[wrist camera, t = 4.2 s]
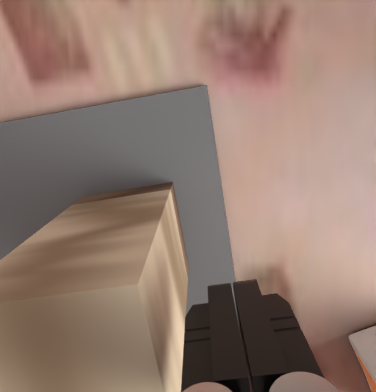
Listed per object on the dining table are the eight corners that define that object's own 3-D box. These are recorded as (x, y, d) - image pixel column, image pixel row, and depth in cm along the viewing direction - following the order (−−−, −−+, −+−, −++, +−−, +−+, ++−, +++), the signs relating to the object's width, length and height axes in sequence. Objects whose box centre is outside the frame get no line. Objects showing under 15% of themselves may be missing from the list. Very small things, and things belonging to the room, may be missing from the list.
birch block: (173, 182, 17) (137, 284, 7) (188, 266, 18) (177, 448, 8) (82, 196, 17) (-67, 311, 8) (104, 278, 18) (1, 464, 9)
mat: (206, 85, 16) (206, 85, 15) (241, 323, 19) (242, 327, 19) (-155, 151, 17) (-163, 152, 17) (-60, 359, 21) (-65, 364, 21)
